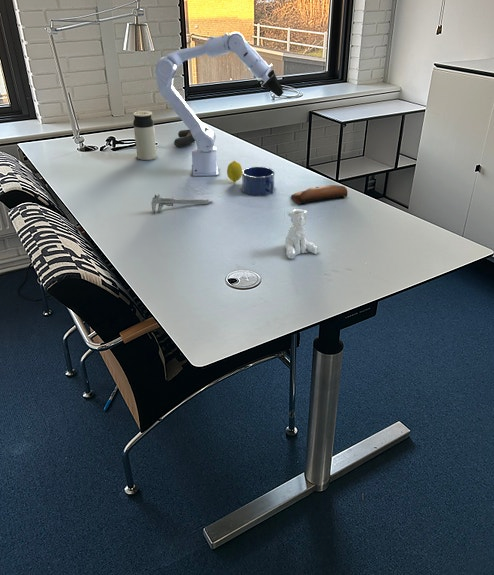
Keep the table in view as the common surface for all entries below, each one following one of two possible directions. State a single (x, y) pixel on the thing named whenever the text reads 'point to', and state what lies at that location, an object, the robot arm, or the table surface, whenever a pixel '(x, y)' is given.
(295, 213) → the sitting furry creature
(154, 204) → the caliper
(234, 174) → the lemon
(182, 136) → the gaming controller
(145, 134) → the travel mug
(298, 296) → the table surface
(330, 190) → the sunglasses case
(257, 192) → the blue mug
